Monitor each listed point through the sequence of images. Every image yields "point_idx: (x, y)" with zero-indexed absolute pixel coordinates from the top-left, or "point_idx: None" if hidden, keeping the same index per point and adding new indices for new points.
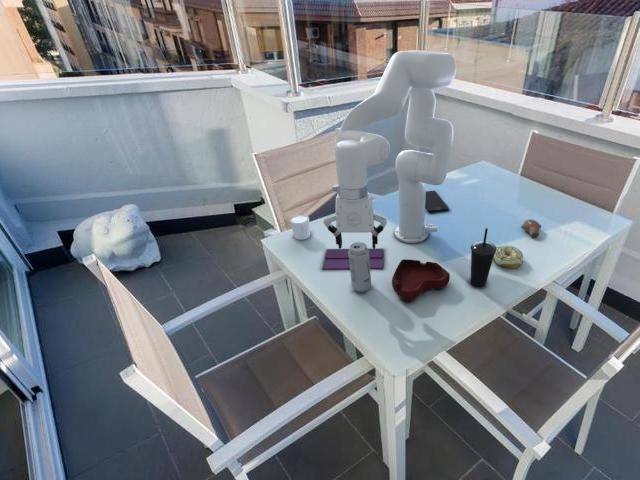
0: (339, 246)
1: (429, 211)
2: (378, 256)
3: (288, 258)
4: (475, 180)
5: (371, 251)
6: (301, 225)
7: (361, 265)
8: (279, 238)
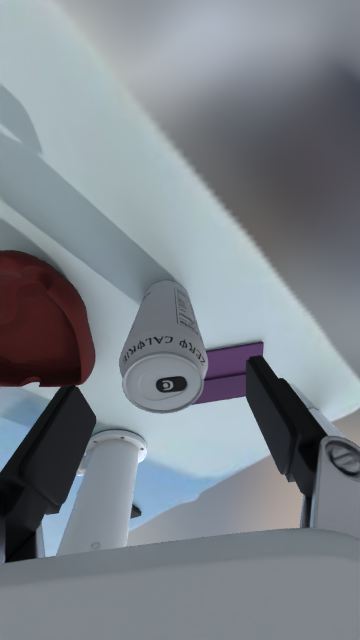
0: (261, 364)
1: None
2: None
3: (332, 361)
4: None
5: None
6: None
7: (147, 313)
8: (347, 405)
